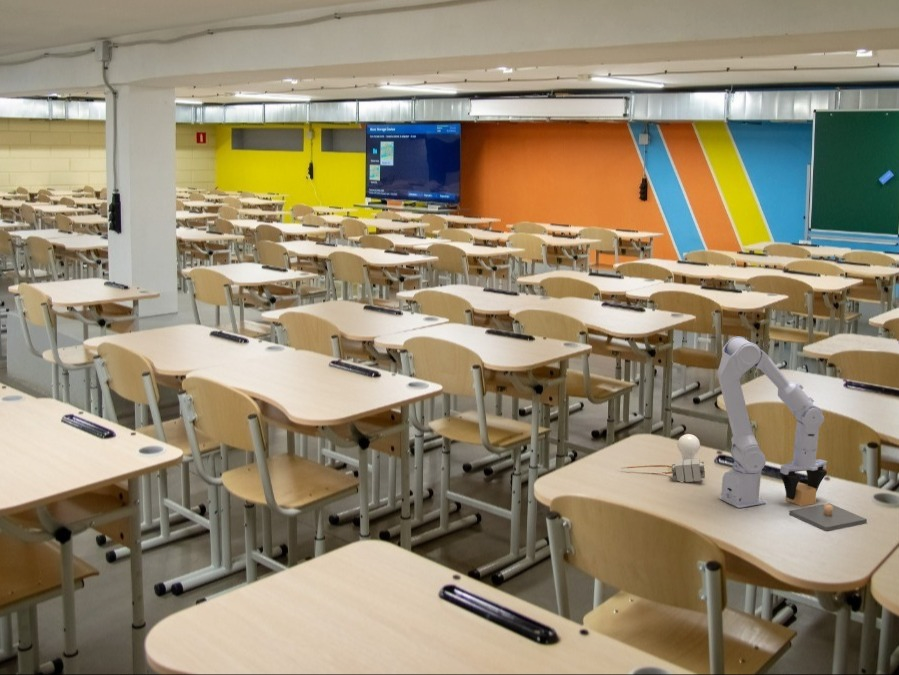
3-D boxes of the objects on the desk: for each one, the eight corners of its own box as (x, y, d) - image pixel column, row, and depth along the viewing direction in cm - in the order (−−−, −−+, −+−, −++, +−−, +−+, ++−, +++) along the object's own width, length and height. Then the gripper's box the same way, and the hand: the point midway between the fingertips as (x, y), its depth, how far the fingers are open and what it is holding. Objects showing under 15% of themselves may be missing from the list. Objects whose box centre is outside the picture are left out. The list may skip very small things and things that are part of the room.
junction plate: (825, 531, 228) (827, 517, 227) (789, 514, 239) (790, 501, 238) (866, 522, 234) (867, 509, 233) (829, 506, 245) (830, 494, 244)
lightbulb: (700, 474, 269) (703, 437, 266) (678, 473, 269) (681, 437, 267) (695, 467, 275) (697, 431, 273) (673, 466, 275) (676, 431, 273)
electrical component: (619, 487, 266) (617, 470, 265) (621, 480, 272) (619, 464, 271) (705, 481, 259) (703, 463, 258) (705, 474, 265) (703, 457, 264)
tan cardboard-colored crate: (800, 505, 245) (801, 491, 244) (785, 499, 250) (787, 485, 249) (815, 503, 247) (816, 489, 246) (800, 496, 252) (801, 482, 251)
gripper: (796, 455, 239) (791, 505, 241) (837, 448, 245) (832, 497, 248) (776, 447, 245) (772, 496, 248) (816, 441, 251) (812, 489, 254)
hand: (800, 496), depth 248 cm, fingers open, 7 cm apart
